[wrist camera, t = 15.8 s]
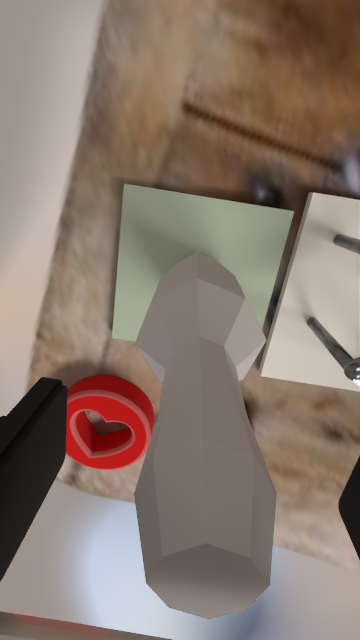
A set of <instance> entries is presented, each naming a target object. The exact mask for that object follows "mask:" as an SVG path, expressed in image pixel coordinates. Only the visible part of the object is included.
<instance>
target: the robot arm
mask: <svg viewBox="0 0 360 640" xmlns="http://www.w3.org/2000/svg"><path fill="white" fill-rule="evenodd" d="M66 428H67V386H64V385H62V381H61V380H58V379H52V378H46V377H42V378H40V379H39V380H38V381H37V383H36V384H35V385H34V386H33V387H32V388H31V389H30V390H29V392H28V393H27V394H26V395H25V396H24V397H23V398H22V399H21V400H20V402H19V403H18V404H17V405H16V406H15V407H14V408H13V409H12V411H11V412H10V413H9V414H8V415H7V416H2V417H0V581H1V580H2V578H3V576H4V575H5V573H6V571H7V569H8V567H9V565H10V563H11V561H12V560H13V558H14V556H15V554H16V552H17V550H18V548H19V546H20V544H21V542H22V541H23V539H24V537H25V535H26V533H27V531H28V529H29V527H30V525H31V523H32V522H33V520H34V518H35V516H36V513H37V512H38V510H39V508H40V506H41V505H42V503H43V501H44V499H45V497H46V495H47V493H48V491H49V489H50V487H51V485H52V484H53V482H54V480H55V478H56V476H57V474H58V472H59V470H60V468H61V467H62V465H63V462H64V459H65V455H66ZM339 512H340V515H341V517H342V519H343V522H344V524H345V526H346V529H347V531H348V534H349V536H350V538H351V541H352V543H353V545H354V548H355V550H356V552H357V555H358V557H359V559H360V456H359V458H358V461H357V463H356V465H355V467H354V469H353V471H352V473H351V476H350V478H349V480H348V482H347V484H346V486H345V488H344V491H343V493H342V495H341V497H340V499H339ZM0 640H171V639H165V638H160V637H154V636H148V635H142V634H136V633H131V632H125V631H119V630H113V629H107V628H102V627H96V626H89V625H84V624H78V623H72V622H66V621H60V620H53V619H46V618H40V617H33V616H27V615H20V614H13V613H7V612H0Z"/></svg>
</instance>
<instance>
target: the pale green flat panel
mask: <svg viewBox="0 0 360 640" xmlns="http://www.w3.org/2000/svg"><path fill="white" fill-rule="evenodd" d="M293 214H294V211H290V210H284V209H278V208H272V207H265V206H259V205H253V204H247V203H241V202H235V201H229V200H223V199H216V198H210V197H204V196H198V195H192V194H186V193H180V192H174V191H167V190H161V189H155V188H149V187H143V186H137V185H131V184H124V189H123V201H122V214H121V227H120V240H119V253H118V266H117V279H116V292H115V305H114V318H113V331H112V338H114V339H120V340H126V341H133V342H135V341H136V339H137V336H138V334H139V331H140V328H141V326H142V323H143V321H144V318H145V315H146V313H147V310H148V308H149V306H150V303H151V301H152V298H153V296H154V293H155V291H156V288H157V286H158V283H159V281H160V279H161V278H162V277H163V276H164V275H165V274H166V273H167V272H168V271H169V270H170V269H171V268H172V267H173V266H174V265H175V264H176V263H178V262H179V261H181V260H183V259H185V258H187V257H189V256H190V255H192V254H194V253H196V252H198V253H200V254H202V255H205V256H207V257H209V258H211V259H214V260H216V261H218V262H219V263H220V264H222V265H223V266H224V267H225V268H226V269H228V270H229V271H230V272H231V273H232V274H233V275H235V276H236V278H237V280H238V282H239V284H240V286H241V288H242V290H243V292H244V294H245V296H246V298H247V300H248V302H249V304H250V306H251V308H252V310H253V312H254V314H255V317H256V319H257V321H258V323H259V325H260V327H261V329H262V328H263V324H264V321H265V317H266V313H267V310H268V306H269V302H270V299H271V295H272V291H273V288H274V284H275V280H276V277H277V273H278V269H279V266H280V262H281V258H282V255H283V251H284V247H285V244H286V240H287V236H288V233H289V229H290V225H291V222H292V218H293Z"/></svg>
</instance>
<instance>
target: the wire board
mask: <svg viewBox="0 0 360 640" xmlns="http://www.w3.org/2000/svg"><path fill="white" fill-rule="evenodd" d="M338 234H343V235H347V236H350V237H353V238H356V239H360V200H356V199H350V198H344V197H338V196H332V195H326V194H320V193H314V192H309V194H308V198H307V201H306V205H305V208H304V212H303V215H302V219H301V222H300V226H299V229H298V233H297V236H296V240H295V243H294V247H293V251H292V254H291V258H290V261H289V265H288V268H287V272H286V275H285V279H284V282H283V286H282V289H281V293H280V296H279V300H278V303H277V307H276V311H275V314H274V318H273V321H272V325H271V328H270V332H269V335H268V339H267V342H266V346H265V349H264V353H263V356H262V360H261V364H260V367H259V373H260V376H263V377H269V378H276V379H282V380H288V381H295V382H301V383H308V384H314V385H320V386H327V387H333V388H340V389H346V390H352V391H359V392H360V386H359V385H357V384H356V383H354V382H353V381H352V380H350V379H348V378H347V377H346V376H345V374H344V369H343V368H342V367H341V366H340V364H339V363H338V362H337V361H336V360H335V358H334V357H333V356H332V355H331V353H330V352H329V351H328V350H327V349H326V347H325V346H324V345H323V344H322V342H321V341H320V340H319V339H318V338H317V336H316V335H315V334H314V333H313V331H312V330H311V329H310V328H309V327H308V325H307V320H308V319H309V318H311V317H314V318H316V319H317V320H318V321H319V322H320V323H321V324H322V325H323V326H324V328H325V329H326V330H327V331H328V332H329V333H330V334H331V335H332V336H333V337H334V338H335V339H336V341H337V342H338V343H339V344H340V345H341V346H342V347H343V348H344V349H345V350H346V351H347V352H348V353H349V355H350V356H351V357H352V358H353V359H355V358H358V357H360V255H359V254H357V253H354V252H352V251H349V250H347V249H344V248H342V247H339V246H337V245H335V244H334V238H335V236H336V235H338Z"/></svg>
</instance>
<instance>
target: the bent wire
mask: <svg viewBox="0 0 360 640" xmlns="http://www.w3.org/2000/svg"><path fill="white" fill-rule="evenodd" d="M334 244H335V245H337V246H339V247H342V248H344V249H347V250H349V251H352V252H354V253H357V254H359V255H360V239H356V238H353V237H350V236H347V235H343V234H338V235H336V236H335V238H334ZM307 325H308V327H309V328H310V329H311V330H312V331H313V333H314V334H315V335H316V336H317V338H318V339H319V340H320V341H321V342H322V344H323V345H324V346H325V347H326V349H327V350H328V351H329V352H330V353H331V355H332V356H333V357H334V358H335V360H336V361H337V362H338V363H339V364H340V366H341V367H342V368H343V369H344V374H345V376H346V377H347V378H348V379H350V380H352V381H353V382H354V383H356V384H357V385H359V386H360V357H358V358H355V359H353V358H352V357H351V356H350V355H349V353H348V352H347V351H346V350H345V349H344V348H343V347H342V346H341V345H340V344H339V343H338V342H337V341H336V339H335V338H334V337H333V336H332V335H331V334H330V333H329V332H328V331H327V330H326V329H325V328H324V326H323V325H322V324H321V323H320V322H319V321H318V320H317V319H316V318H314V317H311V318H309V319H308V320H307Z"/></svg>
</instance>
